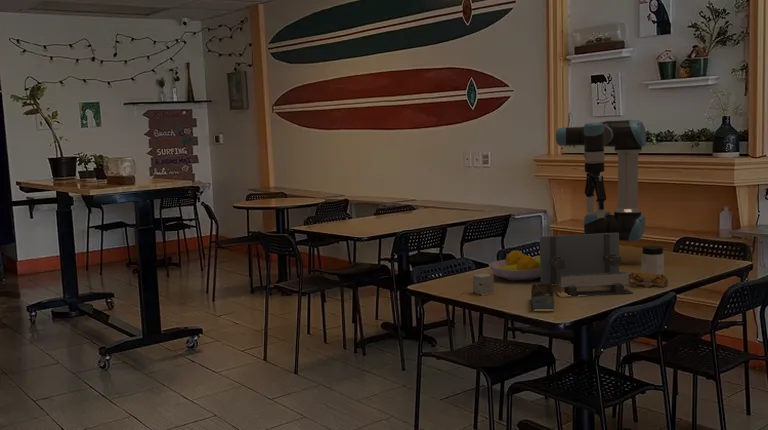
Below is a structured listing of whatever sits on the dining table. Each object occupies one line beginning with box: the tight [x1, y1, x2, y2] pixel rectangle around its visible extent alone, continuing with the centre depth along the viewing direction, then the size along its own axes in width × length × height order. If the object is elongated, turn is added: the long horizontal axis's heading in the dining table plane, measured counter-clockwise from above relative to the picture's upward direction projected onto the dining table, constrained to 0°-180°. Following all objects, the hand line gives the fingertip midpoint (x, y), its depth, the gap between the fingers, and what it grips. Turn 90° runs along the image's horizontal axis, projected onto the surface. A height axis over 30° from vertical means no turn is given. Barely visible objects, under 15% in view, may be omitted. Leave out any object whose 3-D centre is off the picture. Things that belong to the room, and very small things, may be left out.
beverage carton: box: [531, 283, 555, 311], centre depth 281 cm, size 8×19×7 cm, turn 169°
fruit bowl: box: [488, 249, 541, 282], centre depth 329 cm, size 28×27×11 cm
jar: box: [640, 245, 665, 276], centre depth 322 cm, size 9×8×12 cm
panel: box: [539, 233, 622, 284], centre depth 307 cm, size 14×32×20 cm, turn 91°
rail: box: [558, 271, 630, 288], centre depth 295 cm, size 4×26×4 cm, turn 91°
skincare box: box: [472, 272, 495, 295], centre depth 304 cm, size 6×6×7 cm
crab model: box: [629, 272, 669, 289], centre depth 306 cm, size 16×13×6 cm
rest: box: [557, 284, 634, 296], centre depth 295 cm, size 7×28×4 cm, turn 92°
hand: (595, 215), depth 307 cm, fingers open, 13 cm apart
